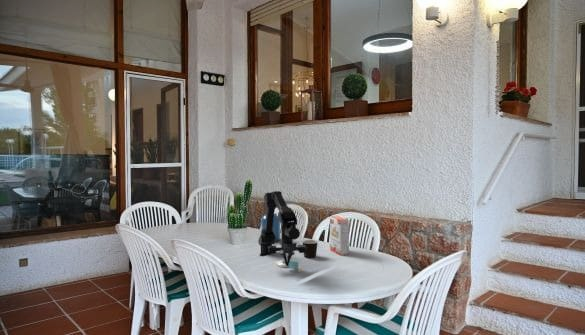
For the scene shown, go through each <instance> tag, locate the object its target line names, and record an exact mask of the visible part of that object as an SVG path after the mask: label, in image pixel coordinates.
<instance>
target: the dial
mask: <svg viewBox="0 0 585 335" xmlns="http://www.w3.org/2000/svg"><path fill="white" fill-rule="evenodd" d="M275 266H277V267H278V268H289V269H291V270H293V271H297V270H299V262H298V261H297V260H294V259H292V258H291V259H290V262H289V265H288V266H286V263H285V260H284V258H282V259H281V260H277V261H276V263H275Z"/></svg>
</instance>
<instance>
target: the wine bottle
mask: <svg viewBox="0 0 585 335" xmlns="http://www.w3.org/2000/svg"><path fill="white" fill-rule="evenodd" d="M265 218H266V214H265V215H263V216H262V217H261V218H260V230H261V231H262V230H263V229H264V227H265ZM272 231H273V232H274V234H275V242H279V241H280V240H281V223H280V220H279V215H277V214H275V213H274V220H273V229H272Z"/></svg>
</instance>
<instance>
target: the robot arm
mask: <svg viewBox="0 0 585 335" xmlns="http://www.w3.org/2000/svg"><path fill="white" fill-rule="evenodd" d="M282 194H283V192H282V191H280V190H278V191H276V190H275V191H274V190H273V191H271V192H266V193H264V196H263V199H264V203H265V205H266V209H265V215H266V218H265V227H264V229H263V230H262V231H261V232H260V235H259V237H258V241H257V242H258V245H259V246H260V253H259V256H262V257H263V256H264V257H265V256H269V255H273V254H277V252H279V255H280V256H281V257H282V259H284V260H285V263H286V266H288V265H289V262H290V259H292V256H293V255H296V254H295V252H298V253H299V254H304V253H306V247H305V245H303V244H297V242H293V241H295V240H297V239H299V237H300V234H301V232H300V230H299V229H298V228H297V226H298V219H297V216H296V213H295V211H294V210H293V209H292V208H291V207H289V206H288V205H287V202H286V201H285V199H284V197H283V195H282ZM276 208H277V209H278V211H279V212H278V216H279V220H280V240H281V242H280V244H281V245H280V247H277V245H275V234H274V232H273V231H272V229H273V220H274V214H275V210H276Z"/></svg>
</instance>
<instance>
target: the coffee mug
mask: <svg viewBox="0 0 585 335" xmlns="http://www.w3.org/2000/svg"><path fill="white" fill-rule="evenodd" d="M318 243H319V242H318V240H315V239H304V240H303V241H302V245H305V247H306V253H303V257H304V258H305V259H316V257H317V250H318Z"/></svg>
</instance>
